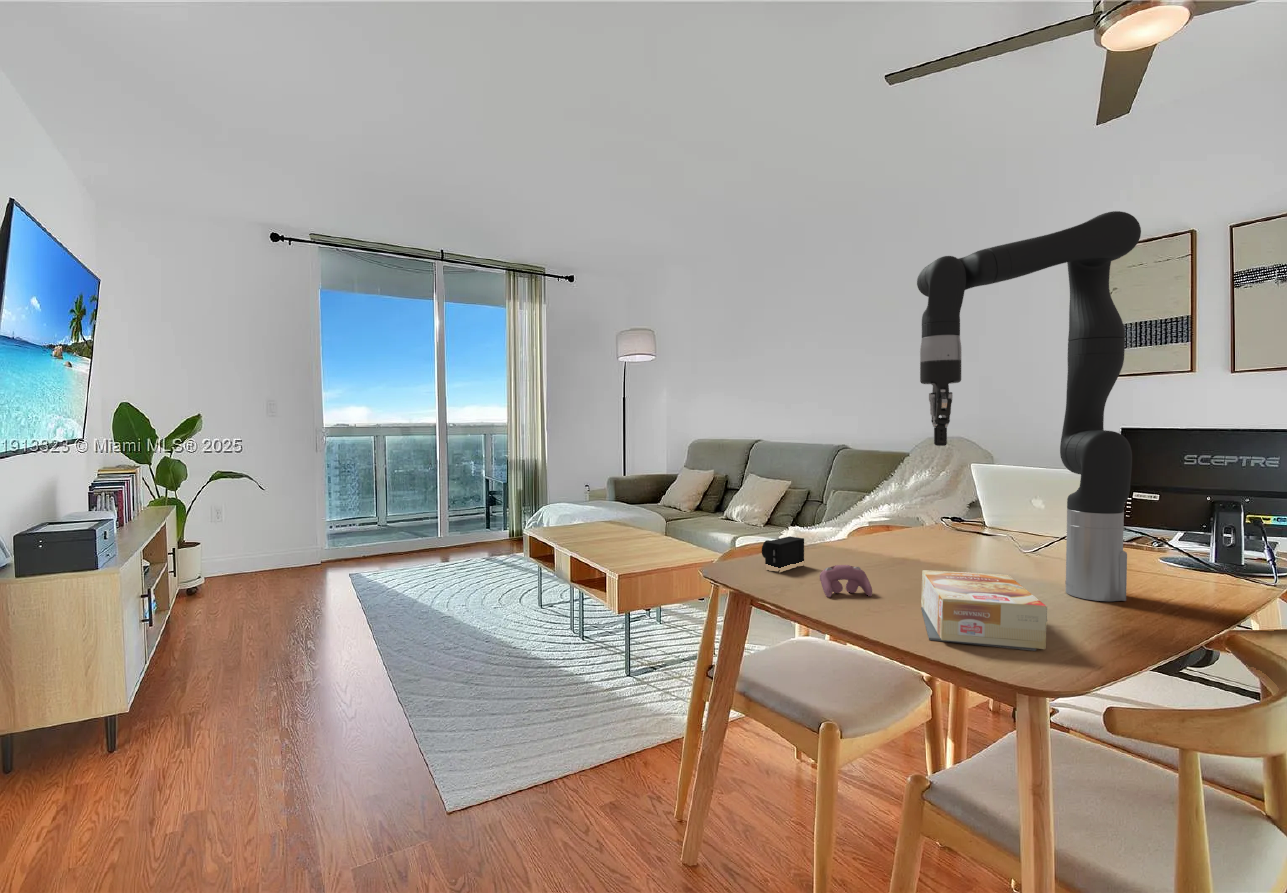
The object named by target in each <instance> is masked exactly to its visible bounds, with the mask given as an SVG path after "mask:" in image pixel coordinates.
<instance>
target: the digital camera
mask: <svg viewBox="0 0 1287 893" xmlns="http://www.w3.org/2000/svg"><path fill="white" fill-rule="evenodd" d="M761 555H762V557H763V558H764V559H765V560H764V561H765V562H764V565H765V564H768V565H771V566H774V567H778V568H781V567H784V566H787V565H790V564H796V563H799V562H802V561H804V562H805V538H803V537H797V536H786V537H781V538H777V539H773V540H768V539H767V540H765V541H764V542H763V544H762V546H761Z"/></svg>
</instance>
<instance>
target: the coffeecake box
mask: <svg viewBox="0 0 1287 893" xmlns="http://www.w3.org/2000/svg"><path fill="white" fill-rule="evenodd" d="M921 572H922V573H921V574H922V575H921V578H922V579H921V595H920V601H921V602H920V605H921V607H923V609H924V610H925V612H926V614H927V615H928V617H929V619H930V621H931V622H932V624H933V626H934V628H935V629H936V631H937V633H938V635H939V636H940V638H941V640H946V641H957V642H968V643H979V644H991V645H1002V646H1014V647H1025V648H1036V650H1037V649H1040V650H1046V646H1047V644H1046V643H1047V622H1048V606H1047V605H1046V604H1045V603H1043V602H1042V601H1041V600H1040V599H1038V598H1037V597H1036V596H1035V595H1033V594H1032V593H1031V592H1030V591H1029V590H1027V589H1026V588H1025V587H1024V586H1023V585H1021V584H1020V583H1019V582H1017V580H1016V579H1014V578H1012V576H1011V575H1010V574H1000V573H999V574H997V573H983V572H982V573H981V572H968V571H967V572H965V571H964V572H962V571H947V570H946V571H944V570H928V569H927V570H925V569H923V570H921Z"/></svg>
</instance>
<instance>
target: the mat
mask: <svg viewBox="0 0 1287 893" xmlns="http://www.w3.org/2000/svg"><path fill="white" fill-rule="evenodd" d="M920 610H921V613H922V617H923V622H924V625H925V629H926V633H927V637H928V640H929V641H933V642H934V641H936V642H943V643H954V644H955V643H956V644H963V645H964V644H965V645H974V646H983V647H984V646H985V647H991V648H992V647H994V648H995V647H996V648H1003V649H1011V650H1012V649H1013V650H1014V649H1015V650H1022V651H1023V650H1024V651H1030V652H1031V651H1034V652H1037V648H1025V647H1014V646H1002V645H991V644H979V643H968V642H957V641H946V640H941V638H940V636H939V635H938V633H937V631H936V629H935V628H934V626H933V624H932V622H931V621H930V619H929V617H928V615H927V614H926V612H925V610H924V609H923V607H922V606H921V608H920Z"/></svg>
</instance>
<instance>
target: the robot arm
mask: <svg viewBox="0 0 1287 893" xmlns="http://www.w3.org/2000/svg"><path fill="white" fill-rule="evenodd" d="M1141 235H1142V227H1141V225H1140V222H1139V220H1138V219H1137V218H1136V217H1135V216H1133V215H1132V214H1131V213H1128V212H1126V211H1118V210H1115V211H1109V212H1105V213H1102V214H1099V215H1097V216H1094V217H1092V218H1091V219H1089V220H1087V221H1085V222H1082V223H1080V224H1077V225H1075V226H1072V227H1068V228H1066V229H1065V228H1064V229H1061V230H1059V231H1055V232H1052V233H1048V234H1044V235H1040V236H1036V237H1031V238H1027V239H1022V240H1017V241H1014V242H1009V243H1005V244H1000V245H996V246H992V247H986V248H984V249H980V250H977V251H974V252H972V253H970V254H968V255H966V256H963V257H959V258H958V257H956V256H953V255H944V256H940V257H938V258H937V259H936V260H933V261H932V262H930V263H929V264H928V265H927V266H924V268H922V270H921V271H920V272H919V274H918V276H917V279H916V286H917V289H918V290H919V292H920V293H921V294H922V295H924V296H925V297H927V306H926V309H925V310H924V311H923V314H922V316H921V344H920V351H919V353H920V354H919V362H920V363H919V364H920V365H919V366H920V367H919V368H920V369H919V370H920V372H919V382H920V383H921V384H923V385H931V386H932V391H931V392H930V393H928V401H929V404H930V407H929V408H930V409H929V411H930V416H931V423H932V427H933V444H934V446H937V447H938V446H939V447H941V446H942V447H943V446H947V444H948V426H949V424H950V422H951V419H950V418H951V415H952V414H951V413H952V403H953V392H951V391H950V386H949V385H950V384H958V383H960V382H962V341H961V317H960V316H961V315H960V314H961V309H962V306H963V301H964V296H965V291H966V290H969V289H973V288H975V287H981V286H988V285H993V284H997V283H1000V282H1005V281H1010V280H1013V279H1018V278H1021V277H1024V276H1027V275H1029V274H1033V273H1035V272H1039V271H1042V270H1046V269H1049V268H1051V267H1055V266H1058V265H1062V264H1066V263H1067V273H1068V283H1069V285H1068V286H1069V306H1068V307H1069V311H1068V315H1069V316H1068V317H1069V318H1068V320H1069V322H1068V337H1067V338H1068V339H1067V377H1066V378H1067V380H1066V381H1067V382H1066V401H1065V402H1066V403H1065V412H1064V419H1063V426H1062V430H1061V438H1060V446H1059V454H1060V459H1061V462H1062V464H1063V465H1064V468H1066V469H1067V470H1068V471H1070V472H1071V473H1074V474H1077V475H1080V482H1079V487H1078V489H1077V490H1076V491H1075V492H1072V493H1071V494H1069V495H1068V496H1067V499H1066V508H1067V509H1066V540H1065V541H1066V542H1065V543H1066V546H1065V548H1066V551H1065V593H1066V594H1068V595H1070V596H1072V597H1076V598H1079V599H1084V600H1088V601H1089V600H1090V601H1096V602H1097V601H1098V602H1099V601H1100V602H1120V601H1123V602H1126V601H1127V582H1128V581H1127V577H1128V576H1127V575H1128V572H1127V571H1128V553H1127V552H1126V551H1125V550H1124V530H1125V528H1124V526H1125V525H1124V520H1125V518H1124V517H1125V504H1126V502H1127V500H1128V498H1129V496H1130V491H1131V484H1132V483H1131V481H1132V480H1131V479H1132V469H1133V452H1132V447H1131V443H1130V442H1129V441H1128V439H1127V438H1126V437H1125V436H1124V435H1123V434H1121V433H1120V432H1117V431H1114V430H1104V423H1105V422H1104V420H1105V418H1104V417H1105V415H1104V414H1105V408H1106V404H1107V400H1108V398H1109V396H1110V394H1111V391H1112V390H1113V388H1114V385H1115V384H1116V382H1117V379H1118V377H1119V376H1120V373H1121V372H1122V369H1123V366H1124V362H1125V348H1126V347H1125V346H1126V344H1125V343H1126V342H1125V341H1126V329H1125V326H1124V325H1125V324H1124V322H1123V319H1122V317H1121V314H1120V313H1119V311H1118V308H1117V306H1116V305H1115V303H1114V301H1113V299H1112V296H1111V295H1112V294H1111V290H1110V275H1111V274H1110V273H1111V265H1112V262H1113V261H1116V260H1118V259H1120V258H1122V257H1124V256H1126V255H1128V253H1130V252H1132V250H1134V248H1135V247H1136V246H1137V244H1138V243H1139V241H1140V239H1141ZM940 416H941V417H940Z"/></svg>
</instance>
